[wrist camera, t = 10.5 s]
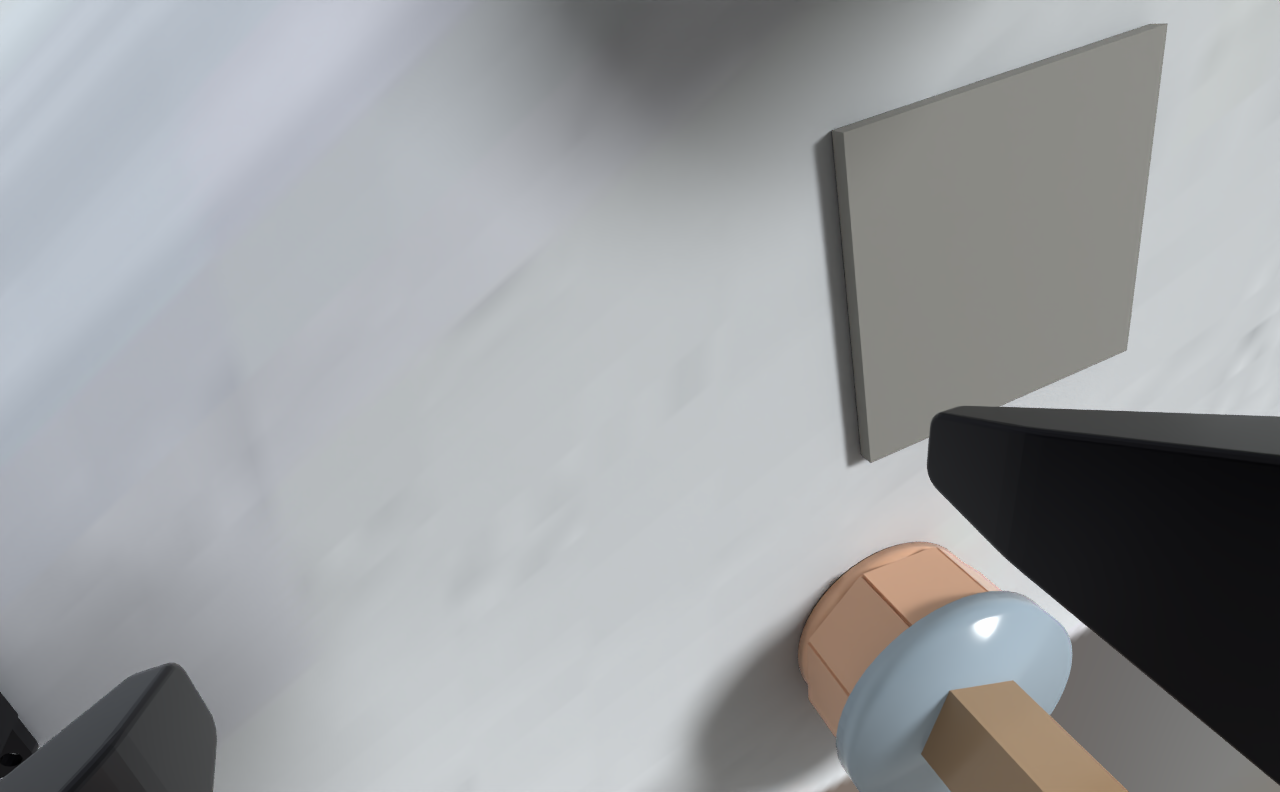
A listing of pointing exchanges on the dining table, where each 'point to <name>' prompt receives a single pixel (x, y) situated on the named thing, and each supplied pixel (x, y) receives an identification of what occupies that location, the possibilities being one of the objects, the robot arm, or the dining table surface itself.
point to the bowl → (876, 616)
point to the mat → (995, 233)
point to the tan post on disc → (968, 706)
